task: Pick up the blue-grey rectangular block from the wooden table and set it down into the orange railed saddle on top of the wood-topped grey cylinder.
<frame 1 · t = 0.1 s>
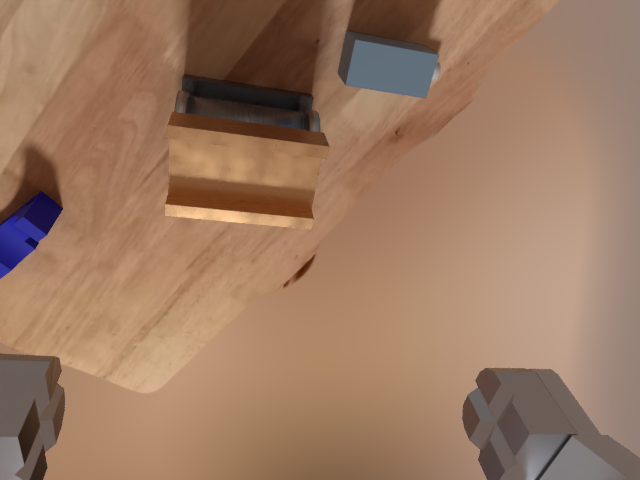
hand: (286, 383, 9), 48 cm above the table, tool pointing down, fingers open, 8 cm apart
wood-topped grey cylinder: (244, 127, 55), on the table
cable clip: (24, 229, 59), on the table
blue-grey rectangular block: (380, 59, 54), on the table
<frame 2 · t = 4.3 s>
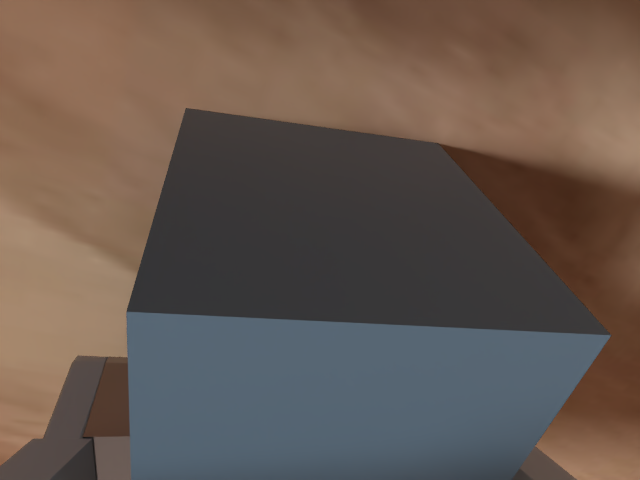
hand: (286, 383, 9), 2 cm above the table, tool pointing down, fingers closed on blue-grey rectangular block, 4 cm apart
blue-grey rectangular block: (281, 319, 11), on the table, touching gripper
when the fingers open (15 cm above the table, at t = 10.1 s): blue-grey rectangular block drops 1 cm, resting on wood-topped grey cylinder.
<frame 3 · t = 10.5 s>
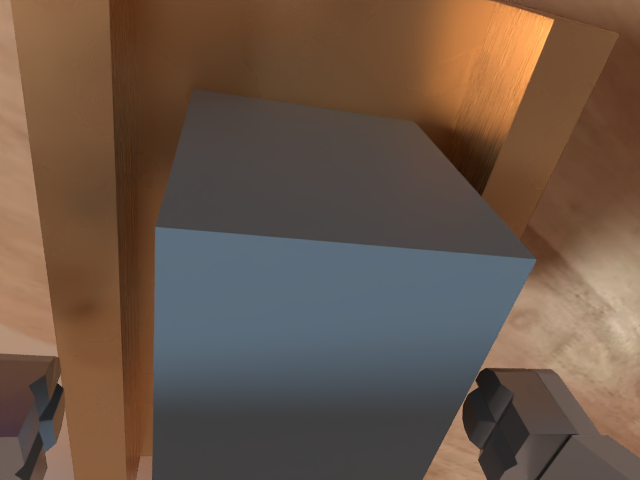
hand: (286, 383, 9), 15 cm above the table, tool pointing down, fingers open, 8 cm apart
wood-topped grey cylinder: (258, 120, 22), on the table
blue-grey rectangular block: (277, 283, 12), point 12 cm above the table, touching wood-topped grey cylinder
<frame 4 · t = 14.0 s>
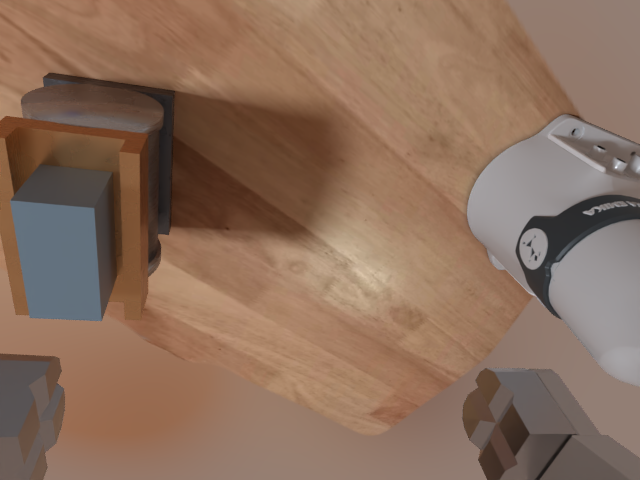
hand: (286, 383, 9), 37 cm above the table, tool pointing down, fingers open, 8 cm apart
wood-topped grey cylinder: (116, 158, 44), on the table
blue-grey rectangular block: (81, 225, 34), point 12 cm above the table, touching wood-topped grey cylinder
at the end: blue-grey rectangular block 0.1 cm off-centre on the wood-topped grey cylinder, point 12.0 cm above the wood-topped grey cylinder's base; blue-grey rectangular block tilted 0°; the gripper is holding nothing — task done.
